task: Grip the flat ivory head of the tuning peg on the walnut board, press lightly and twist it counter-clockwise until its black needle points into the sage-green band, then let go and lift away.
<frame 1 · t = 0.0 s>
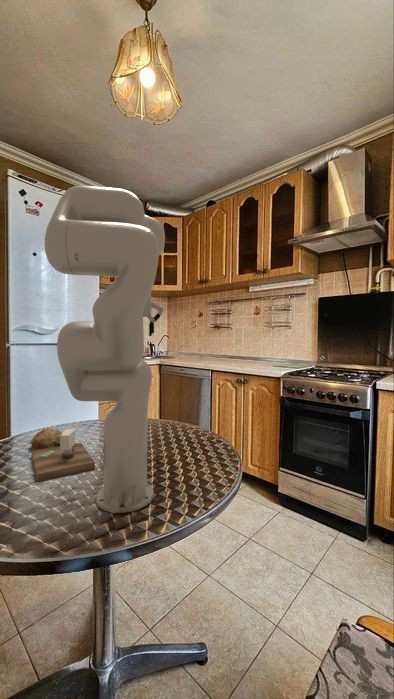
hand: (134, 335, 90), 37 cm above the table, tool pointing down, fingers open, 9 cm apart
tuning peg: (70, 441, 87), point 6 cm above the table, hinge at 0.0°
dial marks: (68, 457, 85), resting on brown wooden flat board
bread roll: (47, 448, 98), on the table
brown wooden flat board: (61, 463, 86), on the table
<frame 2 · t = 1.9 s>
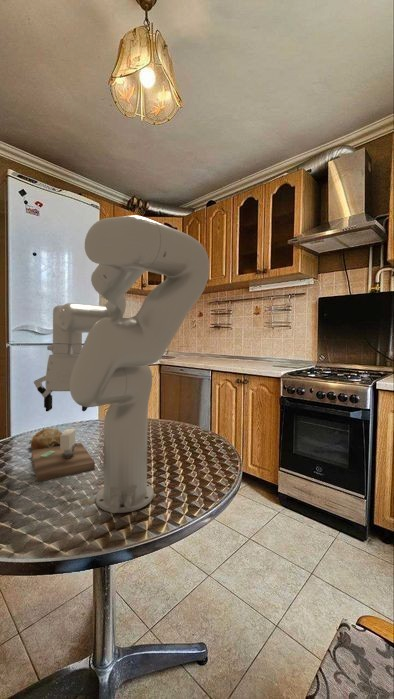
hand: (66, 410, 85), 15 cm above the table, tool pointing down, fingers open, 9 cm apart
nothing on the table moved.
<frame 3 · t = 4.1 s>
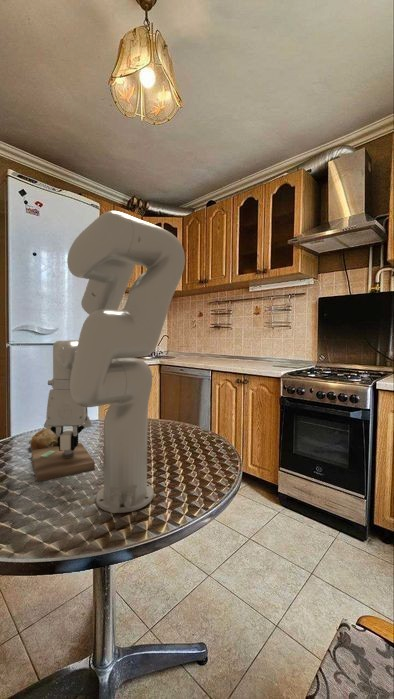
hand: (68, 448, 85), 5 cm above the table, tool pointing down, fingers closed on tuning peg, 2 cm apart
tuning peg: (70, 441, 87), point 6 cm above the table, hinge at 0.0°, touching gripper
everything else where it was.
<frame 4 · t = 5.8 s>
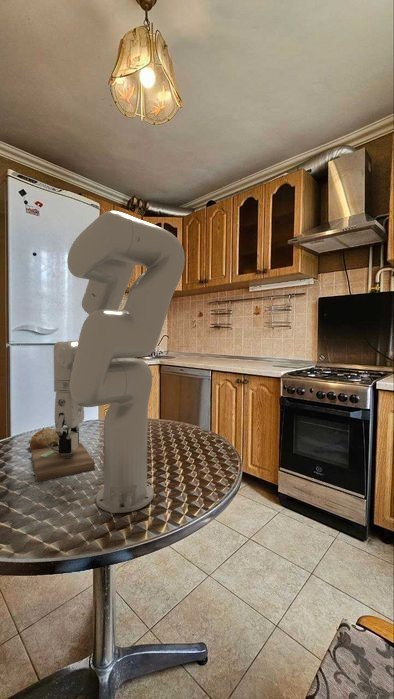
hand: (69, 448, 85), 5 cm above the table, tool pointing down, fingers closed on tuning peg, 5 cm apart
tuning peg: (63, 442, 86), point 6 cm above the table, hinge at 48.0°, touching gripper
everything else where it was.
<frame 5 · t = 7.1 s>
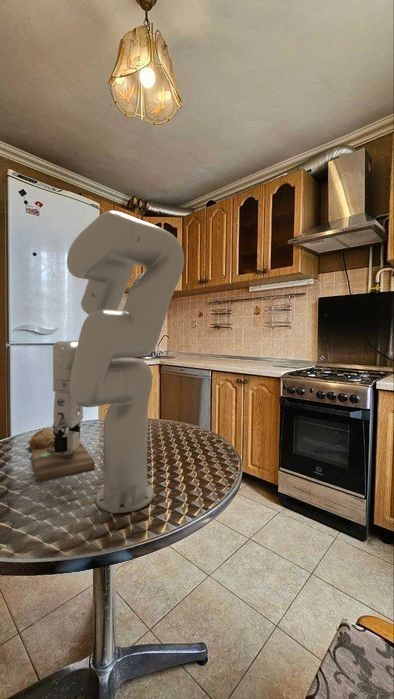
hand: (68, 445, 85), 5 cm above the table, tool pointing down, fingers open, 9 cm apart
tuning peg: (61, 443, 86), point 6 cm above the table, hinge at 59.3°
everything else where it was.
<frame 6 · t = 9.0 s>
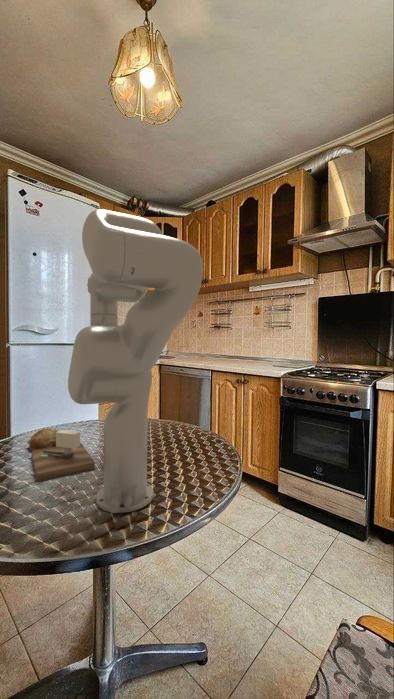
hand: (104, 380, 87), 24 cm above the table, tool pointing down, fingers open, 9 cm apart
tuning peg: (60, 443, 85), point 6 cm above the table, hinge at 69.7°
everything else where it was.
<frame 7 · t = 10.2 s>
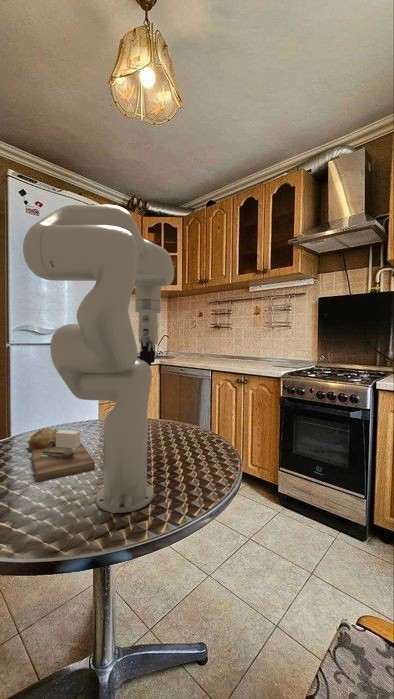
hand: (147, 363, 91), 28 cm above the table, tool pointing down, fingers open, 9 cm apart
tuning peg: (60, 443, 85), point 6 cm above the table, hinge at 72.0°
everything else where it was.
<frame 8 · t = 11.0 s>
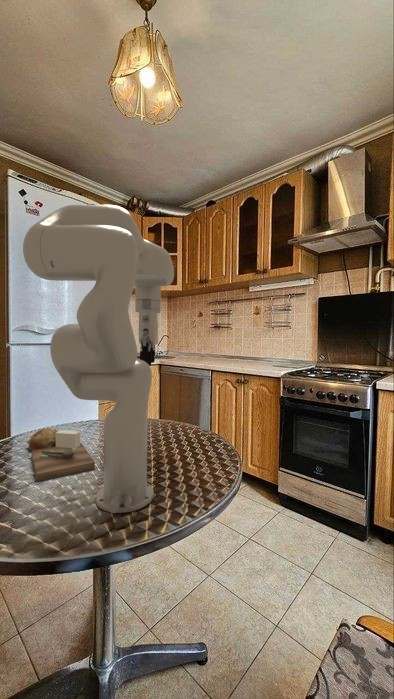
hand: (147, 363, 91), 28 cm above the table, tool pointing down, fingers open, 9 cm apart
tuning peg: (60, 443, 85), point 6 cm above the table, hinge at 72.8°
everything else where it was.
at the end: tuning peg at +73° (first picture: +0°); the gripper is holding nothing; bread roll moved 1.0 cm from its start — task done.
